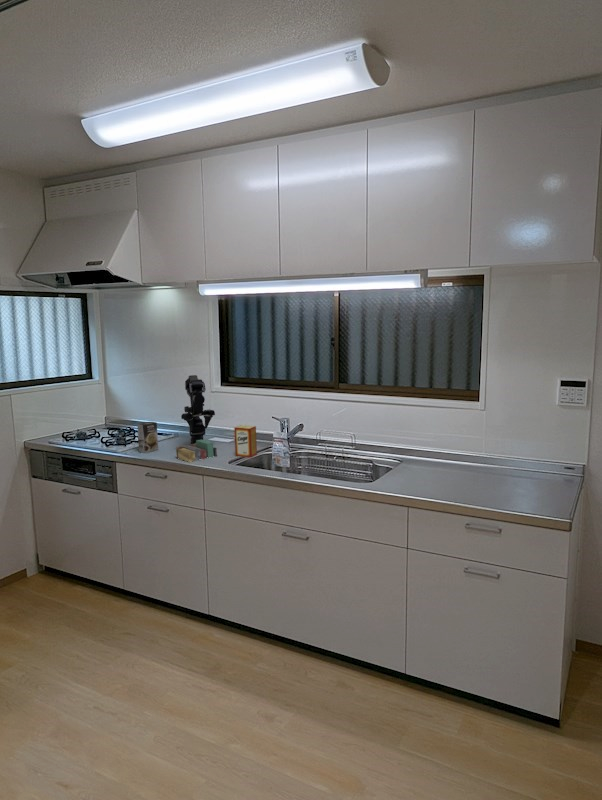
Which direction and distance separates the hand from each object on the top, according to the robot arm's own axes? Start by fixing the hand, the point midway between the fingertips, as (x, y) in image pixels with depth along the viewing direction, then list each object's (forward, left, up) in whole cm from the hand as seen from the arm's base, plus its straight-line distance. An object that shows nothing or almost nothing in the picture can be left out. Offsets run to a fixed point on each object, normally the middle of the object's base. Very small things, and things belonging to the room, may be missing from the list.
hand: (199, 429), depth 312 cm
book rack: (+10, +12, -12) cm, 20 cm away
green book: (+5, +12, -12) cm, 18 cm away
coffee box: (+20, -22, -12) cm, 32 cm away
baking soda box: (-11, +28, -12) cm, 33 cm away
